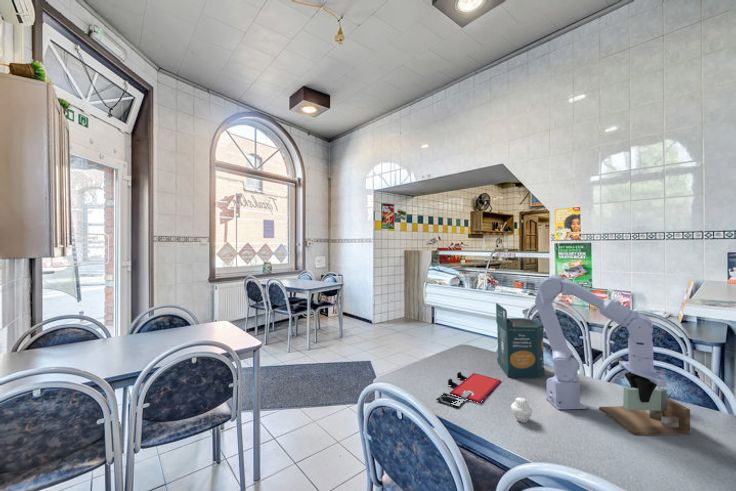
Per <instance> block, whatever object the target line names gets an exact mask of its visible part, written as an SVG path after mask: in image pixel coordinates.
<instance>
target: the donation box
mask: <svg viewBox="0 0 736 491" xmlns="http://www.w3.org/2000/svg"><path fill="white" fill-rule="evenodd" d="M495 311H496V312H495V313H496V314H495V317H496V318H495V319H496V325H497V328H496V329H497V357H496V361H497V362H498V363H497V365H498V366H499V365H500V366H499V367H500V369H501V370H502V371H503V373H504V372H505V373H504V374H505V375H506V377H507V378H513V377H518V378H520V379H521V378H523V379H524V378H527V379H539V378H541V377H542V376H544V375H545V374H546V368H544V367H545V366H544V365H545V364H544V363H545V361H544V359H545V358H544V332H545V329H544V326H543V323H542V322H540V321H538V320H535V319H530V318H526V317H519V318H518V317H508V311H507V309H506V308H505V307H503V306H502V305H501V304H499V303H496V304H495ZM518 378H517V379H518Z"/></svg>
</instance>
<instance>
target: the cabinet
mask: <svg viewBox="0 0 736 491" xmlns="http://www.w3.org/2000/svg"><path fill="white" fill-rule="evenodd" d="M598 409H599V411H601V412H602V413H603V414H605V415H607V416H608V417H609V418H610V419H612V420H613V421H615V422H616V424H617V423H618V424H619V425H620V426H622V427H623V428H624V429H626V430H627V431H628V432H629V433H631V434H633V435H634V436H638V435H639V436H642V435H644V436H645V435H648V436H649V435H684V434H685V435H686V434H690V435H691V409H690V408H688V407H686V406H684V405H682V404H680V403H679V402H676V401H675V400H673V399H671V398H669V397H667V407H666V411H654V410H627V409H626V408H624V407H623V405H622V406H619V405H618V406H616V405H615V406H598Z"/></svg>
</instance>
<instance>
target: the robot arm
mask: <svg viewBox="0 0 736 491" xmlns="http://www.w3.org/2000/svg"><path fill="white" fill-rule="evenodd" d="M560 294H561V296H573V297H576V298H578V299H579V300H582V301H583V302H585V303H588V304H589V305H591V306H593V307H595V308H597V309H598V310H599V312H600V314H601V315H602V316H603V317H605V318H607V319H609V320H610V321H613V323H616V324H617V325H619V326H621V327H625V328H626V329H627V332H628V339H627V344H628V345H627V349H628V354H627V355H628V361H626V360H619V361H618V363H619V364H618V367H619V368H621V369H625V370H627V372H625V373H624V377H625V378H626V380H627V382H628V383H629V385H630V388H638V390H639V398H640V401H641V402H649V401H650V397H651V395H652V392H653V391H654V389H655V388H657V387H658V388H666V387H668V386H667V379H665V378H663V377H661V376H660V375H659V374H658V373H657V370H656V369H655V368H654V342H653V335H652V334H653V332H654V327H653V322H652V319H650V318H649V317H648V316H646V314H643V313H639V311H638V310H633V309H630V308H628V307H627V306H625V305H623V304H622V301H620V300H613V299H606V300H605V299H603V298H602V297H600V296H599V295H597V294H596V293H594V292H591V291H590V290H588V289H587V288H584V287H583V286H581V285H580V284H578V283H576V282H574V281H573V280H571V279H569V278H564V277H563V276H562V275H558V274H553V275H551V276H548V277H544V279H542V280H541V282H540V283H539V284H538V286H537V291H536V295H535V298H534V299H535V300H534V303H535V306H536V310H537V312H538V315H539V317H540V321H541V323H542V324H543V326H544V332H545V334H546V337H547V340H548V342H549V345H550V349H551V351H552V362H553V373H554V376H552V377H549V378H547V379H546V381H545V382H546V383H545V384H546V396H545V399H546V400H547V401H548V402H549V403H551V405H552V406H554V407H555V408H556V409H557V410H586V409H587V406H585V405H584V404H583V403H581V391H580V390H581V388H580V377H579V375H578V374H577V372H578V371H579V370H580V367H581V366H580V361H579V360H578V359H577V358H576V357H575V355H574V354H573V351H572V350H571V349H570V348H569V346H568V344H567V341H566V338H565V336H564V333H563V330H562V328H561V324H560V322H559V319H558V316H557V314H556V311H555V308H554V305H553V303H554V301H555V300H556V298H557V297H558V295H560Z"/></svg>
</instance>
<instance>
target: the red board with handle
mask: <svg viewBox="0 0 736 491" xmlns="http://www.w3.org/2000/svg"><path fill="white" fill-rule="evenodd" d="M456 376H457V378H461V379H462V380H463V381H462V382H460V384H458V383H456V382H454V381H453V378H449V379H447V386H448V385H452V386H453V387H454V386H455V387H454V388H453V389H452V390H451V391H450V392H449V393H446V392H443V393H442V394H443V395H442V394H440V395H439V397H437V398H436V399H435V400H436V401H439V402H442V403H445V404H447V405H450V404H451V403H453V402H455V401H458V400H457V399H456V398H458V397H455V396H452V395H450V394H453V395H456V396H459V397H461V398H459V399H464V400H466V399H468V400H472V401H475V402H478V403H481V401H482V400H484V401H485V399H486V398H487V397H488V396H489V395H490V394H491V393H492V392H493V391H494V390H495V389H496V388H497V387H498V386H499V385H500V383H501V382H502V380H501V379H497V378H493V377H490V376H487V375H482V374H479V373H475V372H473V373H472V374H470V375H469V376H468V377H466V376H465V375H463V374H462V372H461V371H459V372H457V374H456ZM457 378H456V379H457ZM464 379H466V380H464ZM496 386H497V387H496ZM495 387H496V388H495ZM494 388H495V389H494ZM493 389H494V390H493ZM492 390H493V391H492ZM491 391H492V392H491ZM490 392H491V393H490ZM489 393H490V394H489ZM488 394H489V395H488ZM487 395H488V396H487ZM486 396H487V397H486ZM485 397H486V398H485ZM452 401H453V402H452ZM459 402H460V401H459ZM456 403H457V402H456ZM456 403H454V404H456ZM481 404H482V403H481ZM451 406H452V407H454V406H453V405H451Z"/></svg>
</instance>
